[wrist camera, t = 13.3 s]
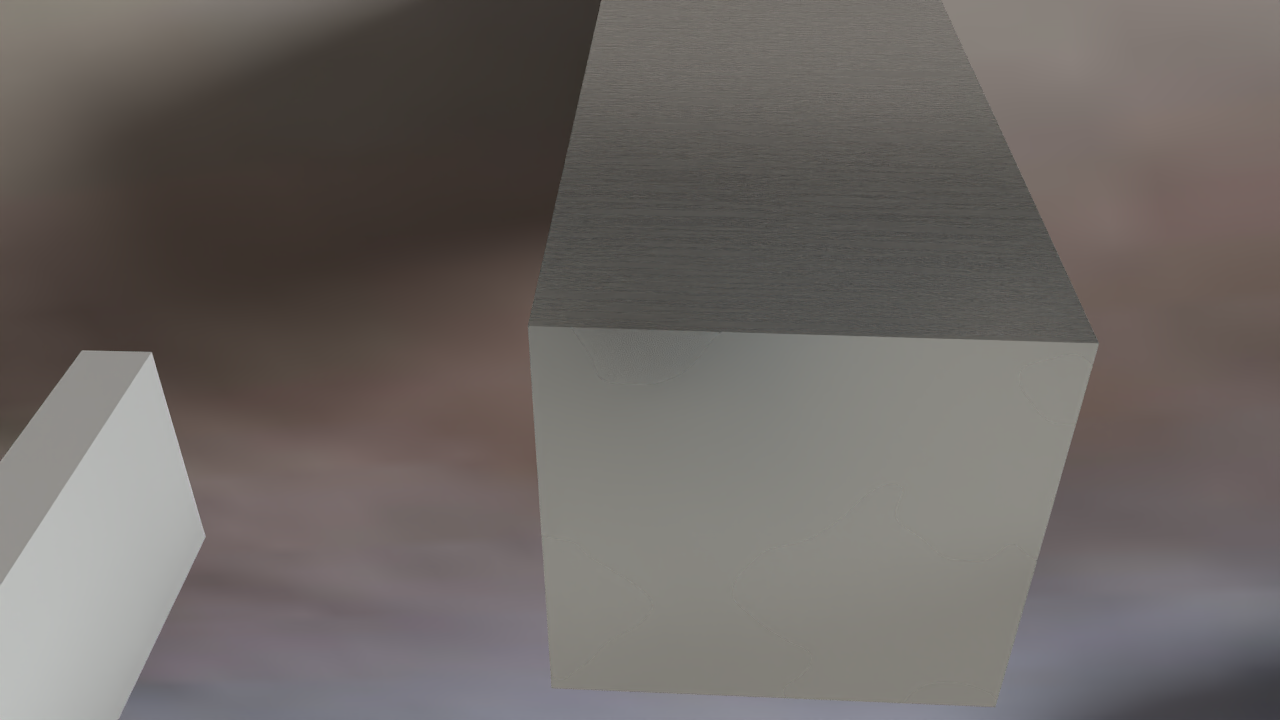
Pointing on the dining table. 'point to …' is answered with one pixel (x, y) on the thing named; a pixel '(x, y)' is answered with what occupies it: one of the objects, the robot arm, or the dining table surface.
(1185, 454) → the dining table surface
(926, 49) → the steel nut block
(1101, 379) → the dining table surface
